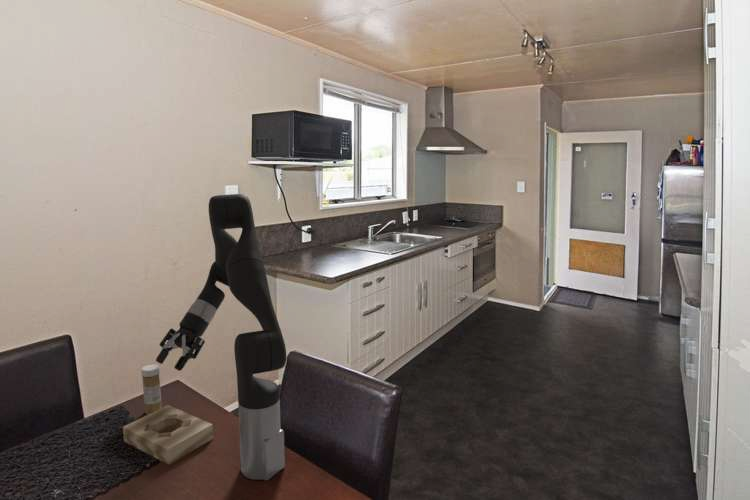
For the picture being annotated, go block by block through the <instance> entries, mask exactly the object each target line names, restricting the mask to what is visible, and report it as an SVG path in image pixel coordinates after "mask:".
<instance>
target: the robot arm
mask: <svg viewBox="0 0 750 500" xmlns="http://www.w3.org/2000/svg"><path fill="white" fill-rule="evenodd" d="M251 204H252V203H251V201H250V198H249V197H248V196H247V195H246V194H245V193H236V194H235V193H232V194H219V195H218V194H217V195H214V196H211V197H210V199H209V201H208V216H209V224H210V230H211V236H212V240H213V243H214V244H213V245H214V257H215V258H214V261H213V263H212V264H211V266H210V269H209V272H208V277H207V279H206V282H205V284H204V286H203V288H202V290H201V291H200V293H199V295H198V296H197V298H196V299H195V300H194V301H193V303H192V304H191V305H190V307H189V308H188V310H187V311H186V313H185V315H184V316H183V318H182V319H181V321H180V322H179V325H178V326H179V329H177V330H176V329H173V328H170V329H169V330H168V332H167V333H166V334H165V336H164V338H163V339H162V340H161V341H160V342H159V346H160V347H161V351H160V352H159V354H158V355H157V357H156V358H155V362H157V363H158V364H160V365H162V364H163V363H164V362H165V360H166V359H167V357H168V355H169V354H170V352H172V351H173V350H177V349H178V348H179V349H182V354H181V355H180V357H179V358H178V360H177V361H176V362H175V364H174V367H173V368H174V369H175V370H176V371H179V372H180V371H182V370H183V369H184V367H185V365H186V364H187V363H188V361H189V360H191V359H193V360H195V359H196V358H197V356H198V355H199V353H200V352H201V350H202V348H203V346H204V344H205V343H206V341H205V339H203V338H202V336H203V335H204V334H205V331H206V330H207V329H208V327H209V325H210V323H211V322H212V321H213V319H214V317H215V315H216V313H217V311H218V310H219V309H220V306H221V304H222V303H223V301H224V299H225V297H226V294H225V291H223V290H222V289H221V288H219V287H218V286H217V285H216V283H217V282H219V283H221V284H222V285H224V286H227V287H228V288H229V290H230V293H232V295H233V296H234V298H235V299H236V300H237V301H238V302H239V303H241V305H243V307H244V308H246V309H247V310H248V311H249V312H251V314H252V315H253V316H254V317H255V318H256V320H257V321H258V323H259V324H260V326H261V328H262V329H261V330H255V331H249V332H244V333H239V334H237V335H236V336H235V340H234V345H233V346H234V349H233V350H234V361H235V368H236V386H237V406H238V407H237V408H238V427H239V454H240V472H241V474H242V476H244V477H245V478H247V479H250V480H257V481H258V480H264V481H265V482H266V481H269V480H270V479H271V478H272V477H274V476H275V475H276V474H277V473H279V472H280V471H282V470H283V469H284V468H286V467H285V465H286V464H285V463H286V462H285V461H286V460H285V431H284V430H283V429H282V428H281V395H280V387H279V385H278V384H277V383H276V382H275V381H272V380H270V379H266V378H261V377H257V376H254V375H257V374H261V373H262V374H263V373H268V372H273V371H278V370H281V369H283V368H285V366H286V364H287V350H286V349H287V347H286V343H285V339H284V338H283V337H284V335H283V333H282V330H281V326H280V324H279V321H278V318H277V315H276V314H277V313H276V311H275V309H274V304H273V300H272V297H271V292H270V287H269V282H268V277H267V272H266V268H265V264H264V260H263V256H262V253H261V251H260V246H259V242H258V237H257V233H256V226H255V220H254V219H255V218H254V213H253V209H252V205H251ZM231 229H242V230H241V232H240V236H239V238H238V241H237V239H236V238H234V236H232V234H230V233H229V232H228V231H226V230H231Z"/></svg>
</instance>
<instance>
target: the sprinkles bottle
mask: <svg viewBox="0 0 750 500" xmlns="http://www.w3.org/2000/svg"><path fill="white" fill-rule="evenodd" d="M140 371H141V373H140V374H141V377H142V388H143V402H144V413H145V414H146V415H149V414H151V413H153V412H155V411H157V410H159V409H161V408H163V407H162V394H161V393H162V391H161V380H160V366H159V365H158V364H156V363H155V364H148V365H144V366H143V367H141V368H140Z"/></svg>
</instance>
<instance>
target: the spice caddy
mask: <svg viewBox="0 0 750 500" xmlns="http://www.w3.org/2000/svg"><path fill="white" fill-rule="evenodd" d="M122 431H123V433H122V434H123V441H124V442H125V443H127V444H128V445H130V446H133V447H134V448H136V449H137V450H140V451H141V452H143V453H145V454H147V455H149V456H151V457H153V458H155V459H157V460H158V459H159V461H160V462H162V463H164V464H166V465H168V466H169V465H171V464H173V463H174V462H176V461H178V460H180V459H181V458H183V457H185V456H186V455H188V454H190V453H191V452H193V451H194V450H196V449H198V448H200V447H201V446H203V445H205V444H207V443H209V441H211V440H213V439H214V429H213V423H210V422H208V421H205V420H204V419H201V418H199V417H197V416H195V415H193V414H190V413H187V412H186V411H183V410H180V409H178V408H176V407H173V406H171V405H170V404H169V405H165V406H163V407H162V408H161V409H159V410H157V411H155V412H153V413H151V414H149V415H148V414H146V415H144V416H143V417H140V418H138V419H136V420H134V421H132V422H130V423H128V424H125V425H123V426H122Z"/></svg>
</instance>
